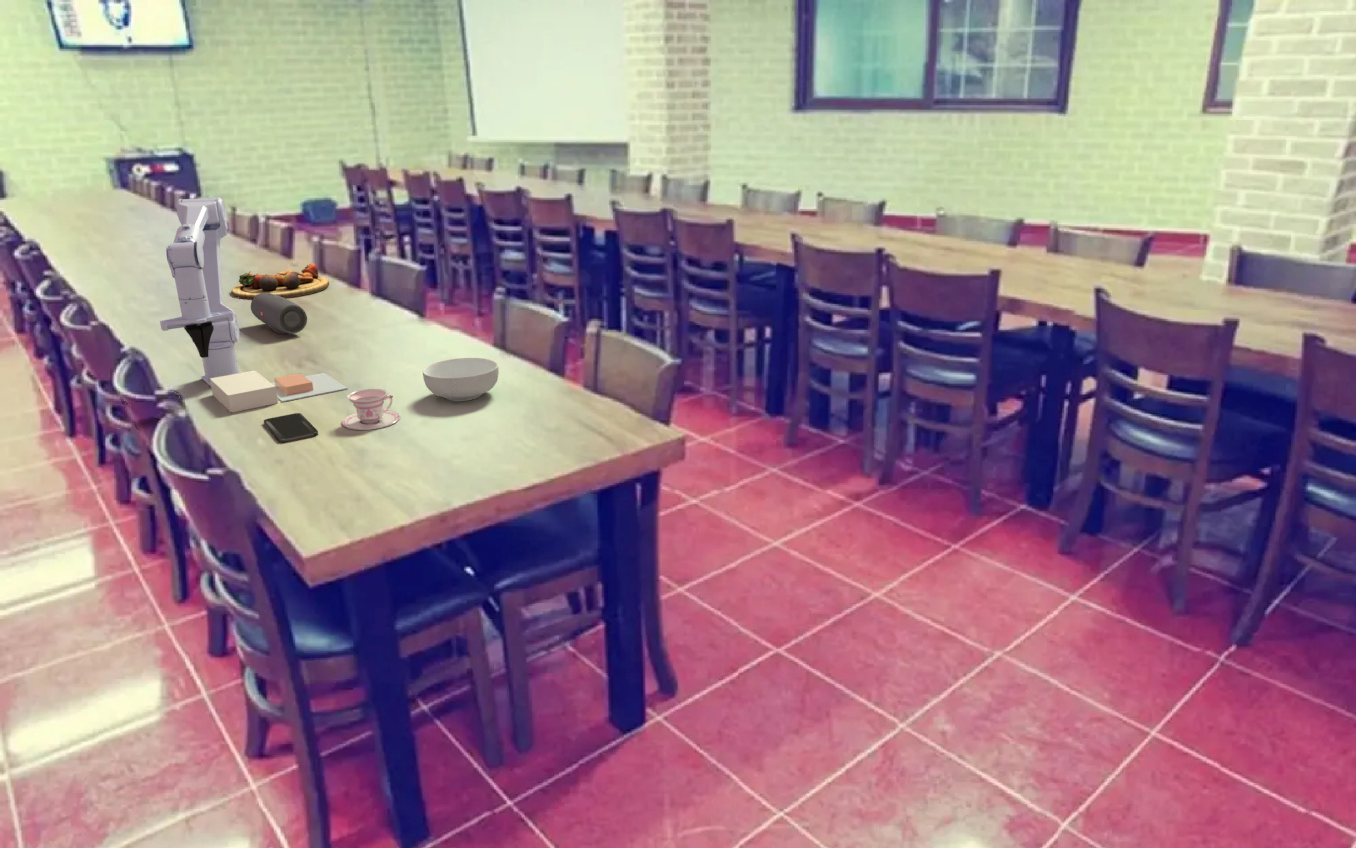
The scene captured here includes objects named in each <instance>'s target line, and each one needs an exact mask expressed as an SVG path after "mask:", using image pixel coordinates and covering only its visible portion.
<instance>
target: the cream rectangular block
mask: <svg viewBox="0 0 1356 848" xmlns="http://www.w3.org/2000/svg"><path fill="white" fill-rule="evenodd" d="M210 383H211V387H210V388H211V392H212V396H213V395H214V396H215V397H214V396H213V397H214V398H215V399H216V400H217V401H219V402H220V404H221V405H222V406H223V407H225V408H226V410H228V411H229V412H230V413H231V412H232V413H236V412H241V411H247V410H251V409H256V408H262V407H266V405H267V406H271V405H277V404H279V399H278V398H277V394H276V388H275V386H274V385H273V384H272V382H270V380H268V379H266V378H265V377H264V376H263V375H262V374H260V373H259V372H258V371H256V370H250V371H246V372H245V371H244V372H239V373H238V374H232V375H227V376H221V377H215V378H210Z"/></svg>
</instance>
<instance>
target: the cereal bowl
mask: <svg viewBox="0 0 1356 848" xmlns="http://www.w3.org/2000/svg"><path fill="white" fill-rule="evenodd" d="M422 377H423V381H424V384H425V386H426V388H427V389H428V390H429V392H431V393H432V394H434V395H435V396H438V397H442V398H444V399H445V398H446V399H447V400H448V401H452V402H468V401H472V399H473V400H476V399H478V398H480V397H481V396H482V395H483V394H485V393H486V392H489V391H490V390H491V389H492V388H494V387H495V385H496V384H497V382H498V380H499V365H498V362H496V361H494V360H492V359H488V358H482V357H459V358H451V359H450V358H449V359H444V360H440V361H436V362H434V363H433V362H432V363H430V364H429V365H426V366H425V367H424V369H422ZM475 398H476V399H475Z"/></svg>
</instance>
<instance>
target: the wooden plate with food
mask: <svg viewBox="0 0 1356 848" xmlns="http://www.w3.org/2000/svg"><path fill="white" fill-rule="evenodd" d="M238 278H239V279H238V283H239V284H238V285H235V286H234V287H232V288H231V294H232V296H233V297H235V298H239V299H243V300H253V298H254V297H255V296H256V295H258V294H260V293H271V294H275V295H278V296H280V297H283V298H285V299H290V298H296V297H302V296H307V295H311V294H315V293H319V292H321V291H324V290H326V289H327V288H328V287H329V285H330V280H329V279H328V278H327V277H324V276H320V275H319V269H318V266H317V265H316V264H315V263H309V264H307V265H306V266H305V267H304V268H303V269H302V270H301V273H300V272H296V271H293V270H291V269H290V270H288V269H286V270H283V271H281V272H277V273H276V274H268V273H265V274H259V273H256V274H253V273H251V271H249V272H244V273H243V274H241V275H239V276H238Z"/></svg>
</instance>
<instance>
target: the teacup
mask: <svg viewBox="0 0 1356 848" xmlns="http://www.w3.org/2000/svg"><path fill="white" fill-rule="evenodd" d="M393 397H394V396H393V395H391V394H390V395H389V391H388V390H386V389H381V388H367V389H362V390H356V391H352V392H350V393H349V394H347V395H346V398H347V399H348V401H350V402H351V403H352V404H353V407H354V408H355V409H356V412H354V413H352V414H350V415H347V416H346V417H344V418H343V419H342V420H341V425H342V427H345V428H346V429H349V430H354V431H357V430H358V431H366V430H368V431H369V430H378V429H382V428H386V427H390V426H392V425H394V424H396V423H397V422H399V421H400V419H401V414H400V413H398V412H396V411H394V410H390V408H391V406H392V404H393ZM386 400H390V401H389V404H388V406H387V407H386V408H385V409H384V407H383V405H384V404H385V403H384V402H385V401H386ZM380 419H382V421H380ZM361 421H362V422H361Z"/></svg>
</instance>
